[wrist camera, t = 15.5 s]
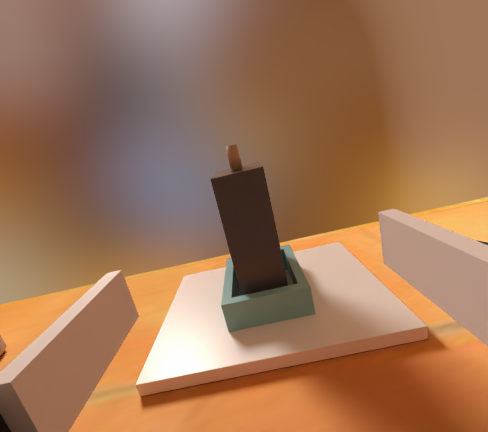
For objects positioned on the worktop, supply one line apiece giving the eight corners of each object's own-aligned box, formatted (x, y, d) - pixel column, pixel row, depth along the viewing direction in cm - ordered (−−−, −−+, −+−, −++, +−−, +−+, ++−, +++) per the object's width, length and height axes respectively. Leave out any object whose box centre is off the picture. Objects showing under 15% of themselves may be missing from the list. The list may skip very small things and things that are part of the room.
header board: (140, 396, 18) (123, 355, 17) (186, 282, 34) (178, 258, 33) (428, 338, 17) (425, 292, 17) (340, 249, 33) (336, 223, 32)
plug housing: (246, 316, 22) (203, 152, 19) (245, 281, 28) (212, 151, 25) (292, 306, 22) (257, 139, 19) (281, 273, 28) (253, 141, 25)
